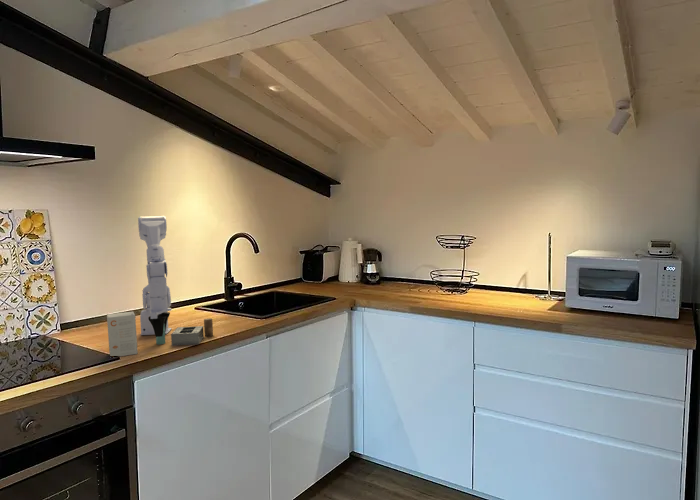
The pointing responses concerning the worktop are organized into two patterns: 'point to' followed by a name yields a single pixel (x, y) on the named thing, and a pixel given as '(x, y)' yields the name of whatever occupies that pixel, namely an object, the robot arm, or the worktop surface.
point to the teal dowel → (161, 338)
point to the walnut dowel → (208, 327)
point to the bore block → (187, 335)
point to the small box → (122, 334)
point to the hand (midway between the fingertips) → (160, 335)
